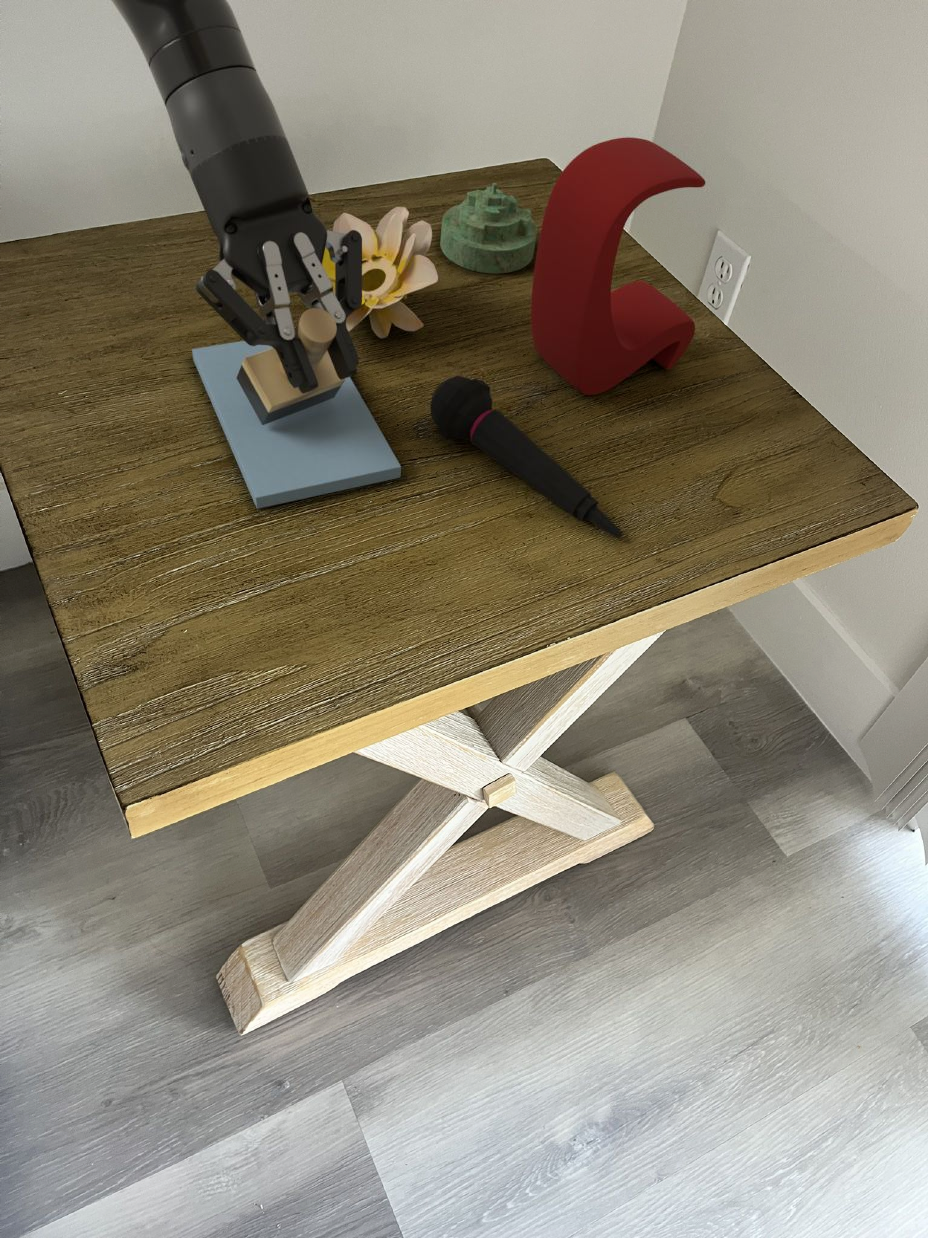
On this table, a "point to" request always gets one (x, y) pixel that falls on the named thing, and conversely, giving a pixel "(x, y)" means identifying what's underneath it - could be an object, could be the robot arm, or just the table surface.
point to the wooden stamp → (270, 381)
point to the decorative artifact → (488, 233)
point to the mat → (295, 436)
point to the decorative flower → (388, 269)
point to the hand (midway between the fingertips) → (329, 382)
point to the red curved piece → (604, 269)
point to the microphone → (510, 446)
